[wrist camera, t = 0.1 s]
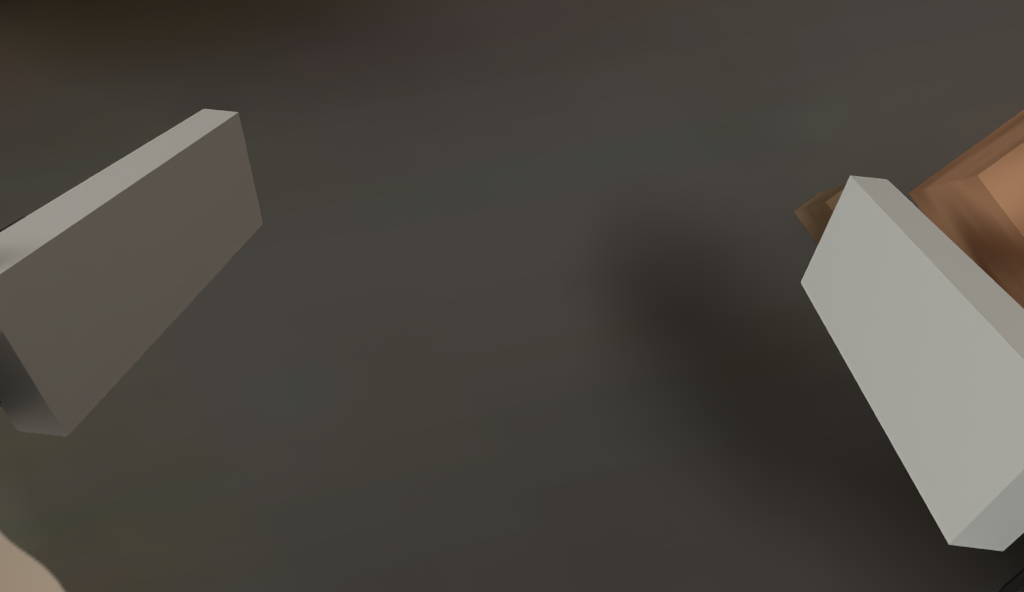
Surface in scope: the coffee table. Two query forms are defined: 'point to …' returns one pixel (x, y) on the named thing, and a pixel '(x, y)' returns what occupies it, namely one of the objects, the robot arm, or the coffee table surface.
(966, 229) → the wooden block
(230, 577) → the coffee table surface
